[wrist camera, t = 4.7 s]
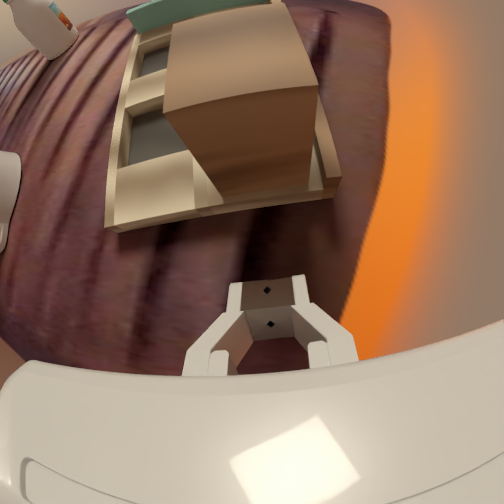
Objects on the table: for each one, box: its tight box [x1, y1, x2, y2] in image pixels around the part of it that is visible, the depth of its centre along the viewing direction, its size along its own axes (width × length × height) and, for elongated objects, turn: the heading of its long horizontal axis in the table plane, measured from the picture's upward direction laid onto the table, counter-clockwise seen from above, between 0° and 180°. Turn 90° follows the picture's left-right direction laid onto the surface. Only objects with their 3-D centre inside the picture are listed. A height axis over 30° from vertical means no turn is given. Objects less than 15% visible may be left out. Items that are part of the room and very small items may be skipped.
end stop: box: [126, 0, 268, 34], centre depth 23 cm, size 1×18×6 cm, turn 97°
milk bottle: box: [3, 0, 79, 60], centre depth 22 cm, size 8×8×20 cm
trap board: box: [104, 0, 342, 233], centre depth 22 cm, size 26×18×4 cm
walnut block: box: [163, 3, 319, 197], centre depth 15 cm, size 7×6×10 cm
